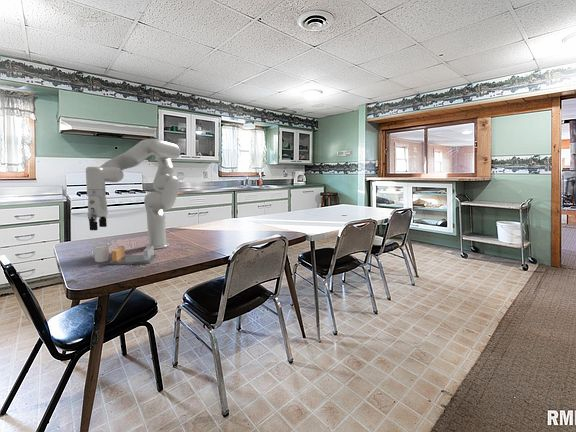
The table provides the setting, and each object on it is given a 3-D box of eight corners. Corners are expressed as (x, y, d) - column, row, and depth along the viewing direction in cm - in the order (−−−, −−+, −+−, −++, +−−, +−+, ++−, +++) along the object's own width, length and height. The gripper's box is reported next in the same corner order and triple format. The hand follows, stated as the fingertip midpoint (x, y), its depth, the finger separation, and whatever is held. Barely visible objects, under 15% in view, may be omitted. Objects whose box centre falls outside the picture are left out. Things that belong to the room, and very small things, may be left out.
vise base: (109, 264, 144) (108, 252, 143) (119, 257, 156) (118, 245, 155) (149, 263, 147) (149, 251, 146) (156, 256, 158) (156, 245, 157)
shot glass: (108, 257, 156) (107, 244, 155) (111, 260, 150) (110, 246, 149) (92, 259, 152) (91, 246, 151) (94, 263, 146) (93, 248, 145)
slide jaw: (112, 261, 145) (111, 251, 144) (120, 255, 155) (119, 246, 154) (116, 261, 145) (116, 251, 144) (124, 255, 155) (124, 246, 154)
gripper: (96, 194, 138) (98, 231, 140) (112, 192, 155) (114, 225, 157) (78, 194, 137) (80, 231, 139) (96, 192, 154) (98, 225, 156)
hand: (98, 228), depth 148 cm, fingers open, 9 cm apart
